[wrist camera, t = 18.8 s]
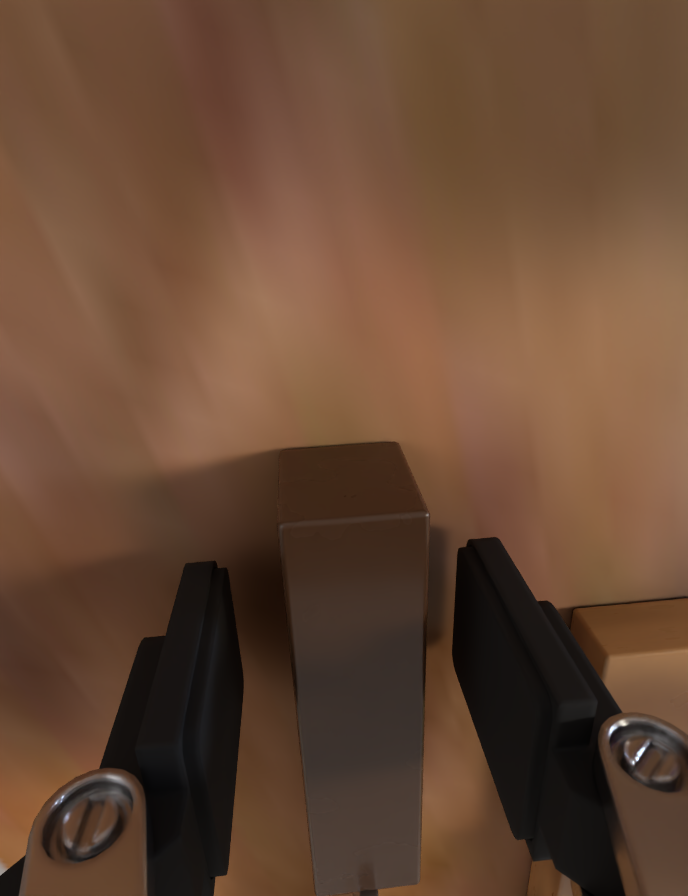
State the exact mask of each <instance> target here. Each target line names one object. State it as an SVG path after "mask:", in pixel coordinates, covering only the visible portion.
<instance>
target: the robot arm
mask: <svg viewBox="0 0 688 896" xmlns="http://www.w3.org/2000/svg"><path fill="white" fill-rule="evenodd" d="M452 657H453V664H454V668H455V672H456V674H457V677H458V680H459V683H460V686H461V689H462V692H463V694H464V697H465V700H466V703H467V706H468V709H469V711H470V714H471V717H472V720H473V723H474V726H475V729H476V731H477V734H478V737H479V740H480V743H481V746H482V749H483V751H484V754H485V757H486V760H487V763H488V766H489V768H490V771H491V774H492V777H493V780H494V783H495V786H496V788H497V791H498V794H499V797H500V800H501V803H502V805H503V808H504V811H505V814H506V817H507V820H508V823H509V825H510V828H511V831H512V833H513V835H514V837H515V839H517V840H522V839H525V840H526V843H527V846H528V848H529V851H530V854H531V857H532V859H533V862H535V861H543V860H551V859H552V861H553V864H554V866H555V869H556V870H558V871H559V872H561V873H562V874H563V875H565V876H566V877H568V878H569V879H570V884H571V889H572V894H573V896H688V735H687V734H686V733H685V732H684V731H682V730H680V729H679V728H677V727H676V726H674V725H673V724H671V723H670V722H667V721H665V720H663V719H660V718H658V717H655V716H653V715H648V714H643V713H638V712H629V713H623V712H622V711H621V709H620V708H619V706H618V704H617V703H616V701H615V700H614V698H613V697H612V695H611V694H610V692H609V690H608V689H607V687H606V686H605V684H604V683H603V681H602V680H601V678H600V676H599V675H598V673H597V672H596V670H595V669H594V667H593V666H592V664H591V662H590V661H589V659H588V658H587V656H586V655H585V653H584V652H583V650H582V649H581V647H580V645H579V644H578V642H577V641H576V639H575V638H574V636H573V635H572V633H571V631H570V630H569V628H568V627H567V625H566V624H565V622H564V621H563V619H562V617H561V616H560V614H559V613H558V611H557V610H556V608H555V607H554V606H553V605H552V603H550V602H548V601H537V600H536V599H535V597H534V595H533V594H532V592H531V590H530V589H529V587H528V586H527V584H526V582H525V581H524V579H523V577H522V576H521V574H520V572H519V571H518V569H517V567H516V566H515V564H514V563H513V561H512V559H511V558H510V556H509V554H508V553H507V551H506V549H505V548H504V546H503V545H502V543H501V541H500V540H499V539H498V538H496V537H493V538H481V539H469V540H468V542H467V545H466V547H462V548H459V549H458V554H457V572H456V590H455V608H454V627H453V645H452ZM243 690H244V679H243V668H242V662H241V655H240V648H239V641H238V635H237V628H236V621H235V614H234V607H233V601H232V594H231V587H230V580H229V574H228V569H227V568H218V567H217V563H216V561H207V562H195V563H186V564H185V566H184V569H183V573H182V577H181V581H180V584H179V588H178V592H177V595H176V599H175V603H174V606H173V610H172V614H171V617H170V621H169V625H168V628H167V632H166V636H157V637H146V638H144V639H143V640H142V641H141V643H140V645H139V647H138V651H137V654H136V657H135V660H134V663H133V666H132V669H131V672H130V675H129V678H128V681H127V685H126V688H125V691H124V694H123V697H122V700H121V703H120V706H119V709H118V712H117V715H116V718H115V722H114V725H113V728H112V731H111V734H110V737H109V740H108V743H107V746H106V749H105V752H104V756H103V759H102V762H101V765H100V768H99V769H97V770H92V771H90V772H87V773H85V774H82V775H80V776H78V777H75V778H74V779H72V780H71V781H70V782H68V783H67V784H65V785H64V786H62V787H61V788H59V789H58V790H57V791H56V792H55V793H54V794H53V795H52V796H51V797H50V798H49V799H48V800H47V801H46V802H45V804H44V805H43V807H42V809H41V810H40V812H39V813H38V815H37V816H36V818H35V819H34V822H33V826H32V829H31V832H30V835H29V838H28V844H27V850H26V855H25V856H24V857H23V858H22V859H20V860H19V861H18V862H17V863H15V864H14V865H13V866H12V867H10V868H9V869H8V870H7V871H6V872H4V873H3V874H2V875H1V876H0V896H213V895H214V886H215V877H216V876H224V875H227V871H228V865H229V854H230V842H231V830H232V819H233V807H234V796H235V784H236V772H237V761H238V749H239V737H240V726H241V714H242V702H243Z"/></svg>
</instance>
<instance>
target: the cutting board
mask: <svg viewBox="0 0 688 896" xmlns="http://www.w3.org/2000/svg"><path fill="white" fill-rule="evenodd" d="M570 631H571V633H572V635H573V636H574V638H575V639H576V641H577V642H578V644H579V645H580V647H581V649H582V650H583V652H584V653H585V655H586V656H587V658H588V659H589V661H590V662H591V664H592V666H593V667H594V669H595V670H596V672H597V673H598V675H599V676H600V678H601V680H602V681H603V683H604V684H605V686H606V687H607V689H608V690H609V692H610V694H611V695H612V697H613V698H614V700H615V701H616V703H617V704H618V706H619V708H620V709H621V711H622V712H623V713H629V712H638V713H643V714H648V715H653V716H655V717H658V718H660V719H663V720H665V721H667V722H670V723H671V724H673V725H674V726H676V727H677V728H679V729H680V730H682V731H684V732H685V733H686V734H687V735H688V598H683V599H672V600H661V601H651V602H640V603H629V604H619V605H608V606H597V607H587V608H577V609H574V611H573V616H572V622H571V628H570ZM527 896H573V894H572V889H571V884H570V879H569V878H568V877H566V876H565V875H563V874H562V873H561V872H559V871H558V870H556V869H555V866H554V864H553V861H552V859H551V860H543V861H535V862H533V859H532V865H531V872H530V878H529V884H528V890H527Z"/></svg>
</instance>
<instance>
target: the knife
mask: <svg viewBox="0 0 688 896" xmlns="http://www.w3.org/2000/svg"><path fill="white" fill-rule="evenodd" d="M277 531H278V540H279V550H280V560H281V569H282V579H283V589H284V598H285V608H286V618H287V627H288V637H289V647H290V657H291V666H292V676H293V686H294V695H295V705H296V715H297V724H298V734H299V744H300V754H301V763H302V773H303V783H304V792H305V802H306V812H307V821H308V831H309V841H310V851H311V860H312V870H313V880H314V889H315V893H316V895H317V896H329V895H337V894H345V893H352V892H353V896H378V889H384V888H392V887H400V886H408V885H416V884H418V883H419V882H420V867H421V830H422V793H423V757H424V720H425V683H426V646H427V609H428V573H429V536H430V513H429V511H428V509H427V506H426V504H425V502H424V500H423V497H422V495H421V493H420V490H419V488H418V486H417V484H416V481H415V479H414V477H413V475H412V472H411V470H410V468H409V466H408V463H407V461H406V459H405V457H404V454H403V452H402V450H401V448H400V445H399V443H397V442H385V443H371V444H357V445H344V446H330V447H317V448H303V449H289V450H283V451H281V452H280V454H279V477H278V514H277Z"/></svg>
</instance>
